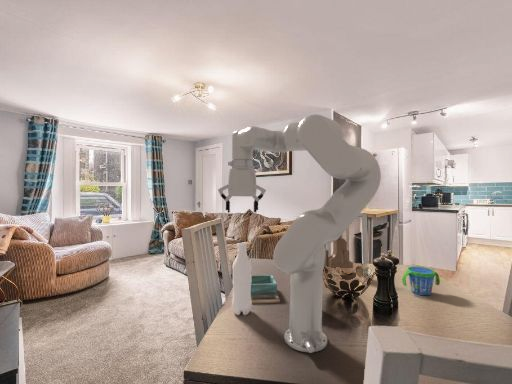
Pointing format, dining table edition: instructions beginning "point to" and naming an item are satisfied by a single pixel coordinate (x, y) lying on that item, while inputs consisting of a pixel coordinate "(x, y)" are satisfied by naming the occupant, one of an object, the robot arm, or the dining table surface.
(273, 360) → the dining table surface
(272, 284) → the bottle stand
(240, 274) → the water bottle
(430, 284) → the snack cup
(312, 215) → the robot arm
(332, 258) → the wooden toy
